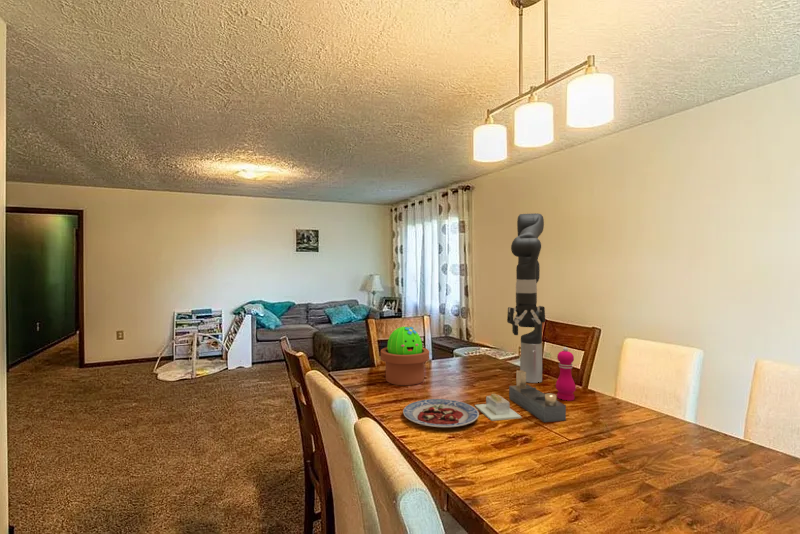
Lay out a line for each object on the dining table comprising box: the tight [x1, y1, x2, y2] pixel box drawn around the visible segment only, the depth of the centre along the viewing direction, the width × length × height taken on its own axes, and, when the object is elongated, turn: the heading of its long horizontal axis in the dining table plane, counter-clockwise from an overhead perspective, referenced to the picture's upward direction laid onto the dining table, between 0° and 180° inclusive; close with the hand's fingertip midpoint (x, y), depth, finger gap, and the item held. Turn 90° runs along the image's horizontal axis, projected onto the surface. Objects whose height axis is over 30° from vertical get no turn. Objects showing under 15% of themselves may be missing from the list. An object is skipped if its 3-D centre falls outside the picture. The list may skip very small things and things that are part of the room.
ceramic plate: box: [402, 398, 480, 428], centre depth 135 cm, size 26×26×3 cm
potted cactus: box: [380, 325, 430, 386], centre depth 180 cm, size 22×22×25 cm
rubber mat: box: [474, 403, 522, 421], centre depth 140 cm, size 14×11×1 cm
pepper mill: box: [555, 346, 577, 402], centre depth 155 cm, size 7×7×20 cm
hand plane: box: [508, 369, 567, 423], centre depth 143 cm, size 24×8×11 cm, turn 12°
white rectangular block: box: [485, 393, 511, 415], centre depth 140 cm, size 8×5×5 cm, turn 13°
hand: (526, 334), depth 148 cm, fingers open, 8 cm apart
